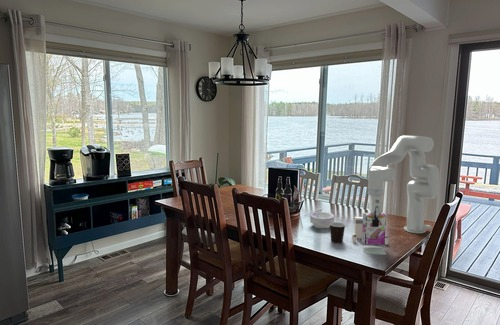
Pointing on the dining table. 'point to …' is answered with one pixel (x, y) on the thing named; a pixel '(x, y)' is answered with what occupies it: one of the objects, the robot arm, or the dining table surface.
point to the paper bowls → (321, 219)
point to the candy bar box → (373, 229)
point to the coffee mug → (337, 232)
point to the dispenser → (358, 230)
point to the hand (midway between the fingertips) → (374, 224)
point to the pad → (374, 250)
